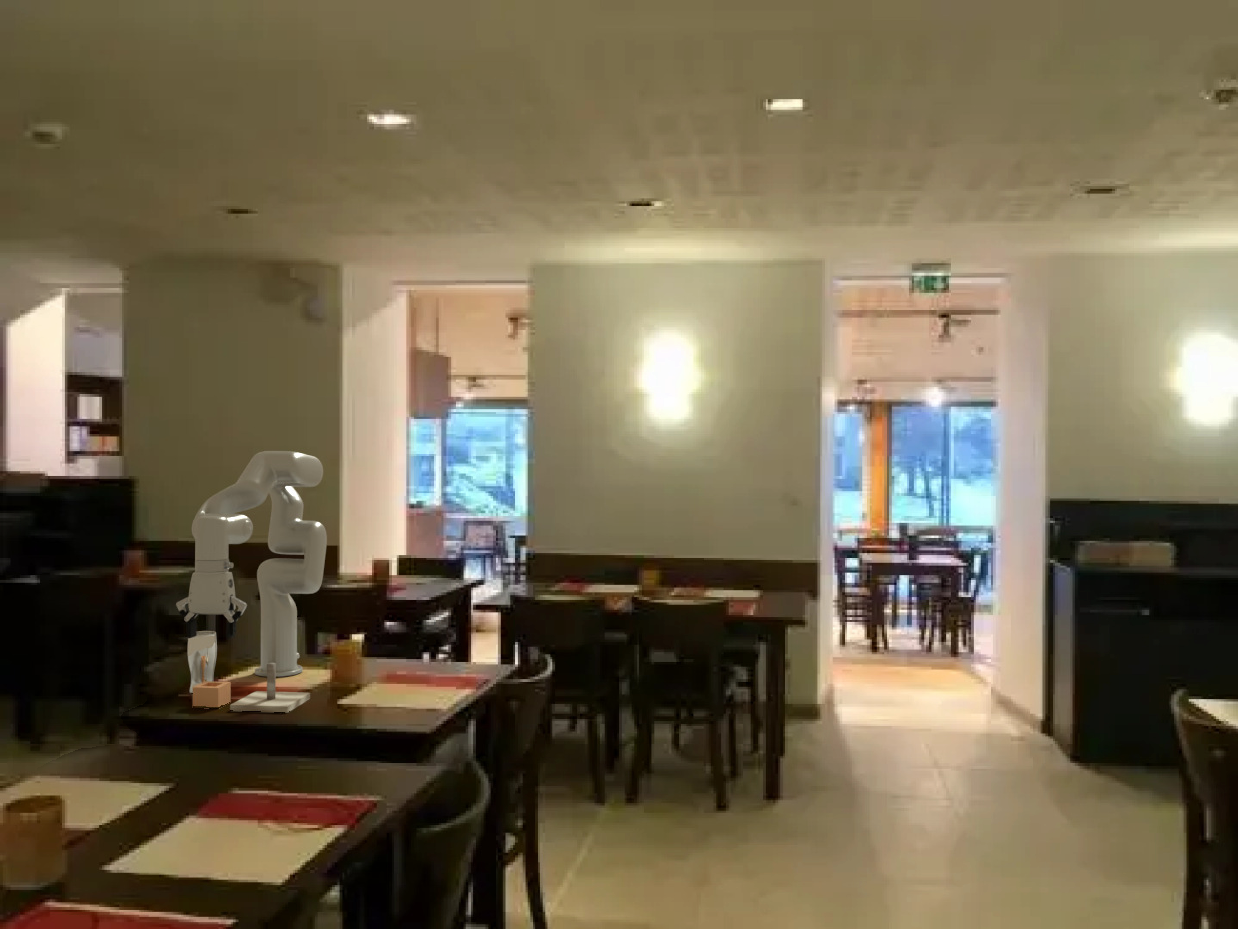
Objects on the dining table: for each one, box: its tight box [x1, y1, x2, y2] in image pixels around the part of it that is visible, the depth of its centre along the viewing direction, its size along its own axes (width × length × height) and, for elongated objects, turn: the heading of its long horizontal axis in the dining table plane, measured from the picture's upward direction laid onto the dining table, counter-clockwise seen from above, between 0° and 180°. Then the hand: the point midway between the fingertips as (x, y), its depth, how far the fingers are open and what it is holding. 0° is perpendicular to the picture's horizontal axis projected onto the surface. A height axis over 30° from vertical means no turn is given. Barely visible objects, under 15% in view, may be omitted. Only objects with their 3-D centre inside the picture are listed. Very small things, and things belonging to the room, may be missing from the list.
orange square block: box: [192, 680, 232, 707], centre depth 254 cm, size 6×6×5 cm
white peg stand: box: [229, 663, 311, 714], centre depth 255 cm, size 14×14×10 cm
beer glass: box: [187, 630, 218, 694], centre depth 268 cm, size 7×7×15 cm
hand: (211, 637), depth 254 cm, fingers open, 9 cm apart
